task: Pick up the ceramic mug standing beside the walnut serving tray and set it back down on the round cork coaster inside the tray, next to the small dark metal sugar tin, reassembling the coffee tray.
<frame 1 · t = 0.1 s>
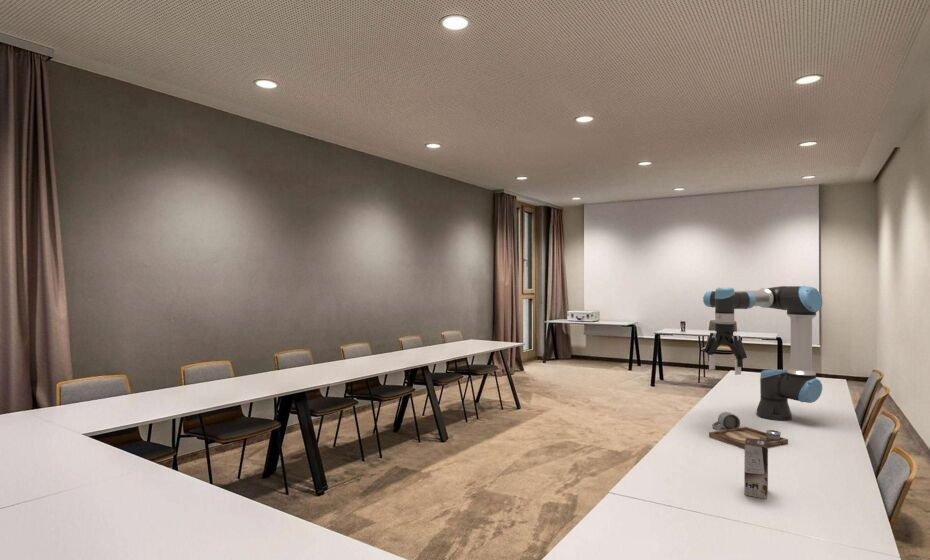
hand: (724, 371, 228), 28 cm above the table, fingers open, 13 cm apart
sugar tin: (773, 442, 218), resting on tray
ceramic mug: (725, 429, 238), on the table
tray: (747, 440, 221), on the table
coffee box: (756, 492, 168), on the table
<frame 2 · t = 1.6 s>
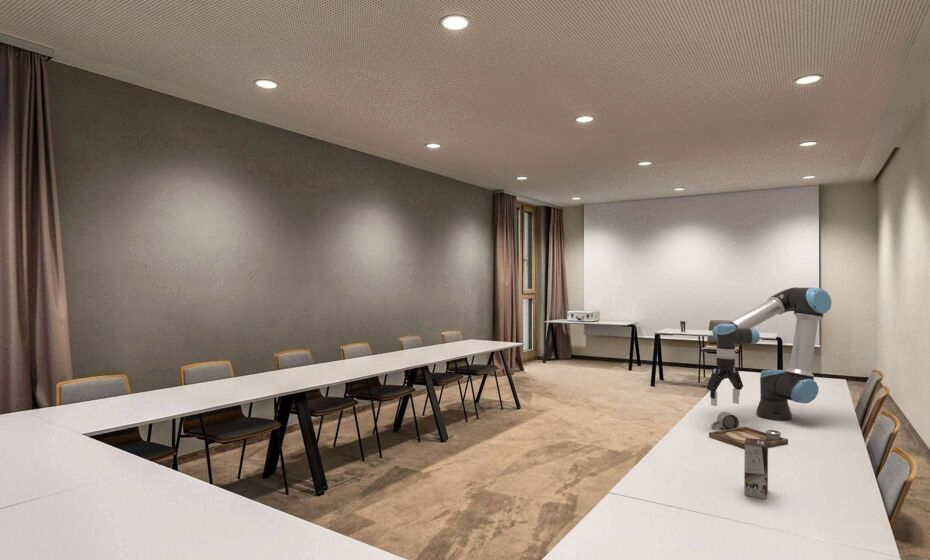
hand: (724, 404, 238), 11 cm above the table, fingers open, 13 cm apart
nothing on the table moved.
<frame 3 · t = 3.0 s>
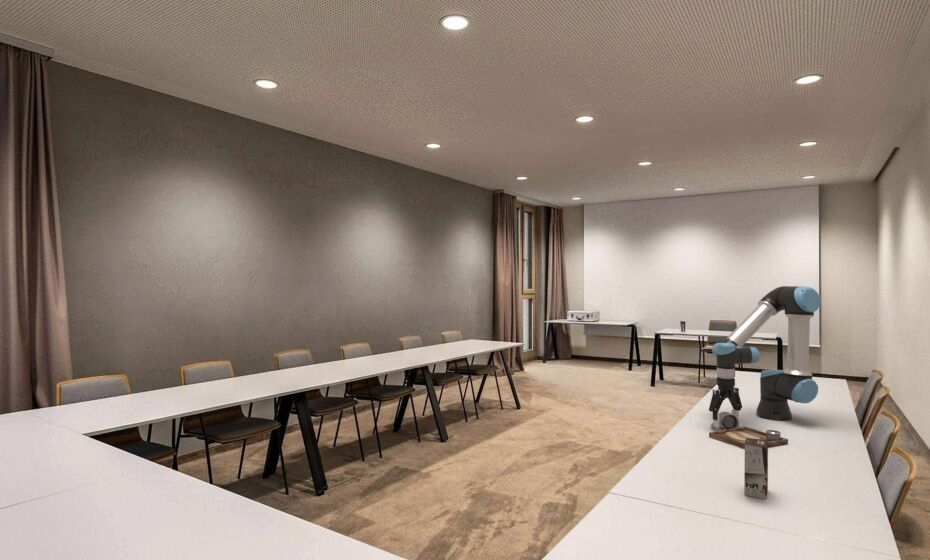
hand: (725, 425, 238), 2 cm above the table, fingers closed on ceramic mug, 11 cm apart
ceramic mug: (724, 429, 239), on the table, touching gripper
everything else where it was.
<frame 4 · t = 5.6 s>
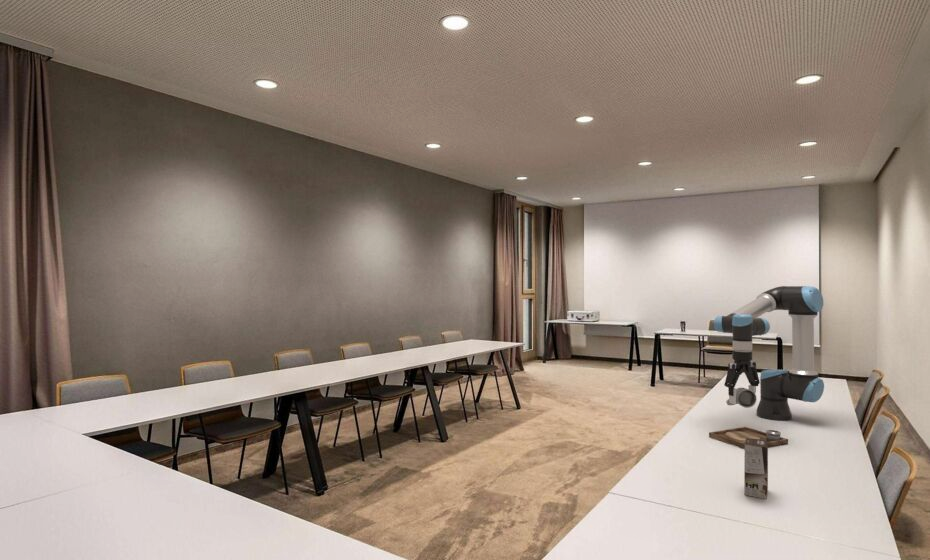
hand: (742, 402, 224), 16 cm above the table, fingers closed on ceramic mug, 11 cm apart
ceramic mug: (740, 406, 224), point 14 cm above the table, touching gripper
everything else where it was.
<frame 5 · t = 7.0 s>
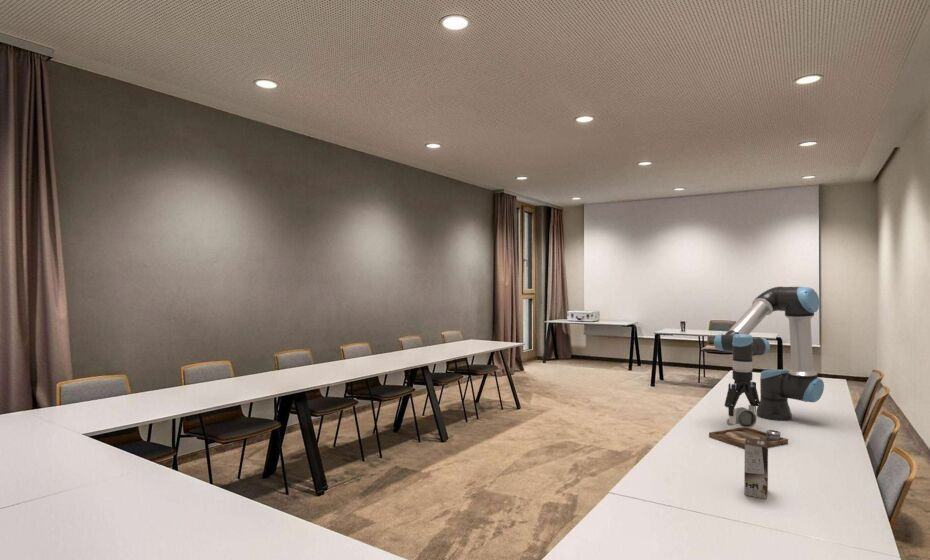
hand: (742, 422, 224), 7 cm above the table, fingers closed on ceramic mug, 11 cm apart
ceramic mug: (740, 426, 224), point 5 cm above the table, touching gripper
everything else where it was.
when the fingers open (4 cm above the table, at t = 8.3 s): ceramic mug drops 1 cm, resting on tray.
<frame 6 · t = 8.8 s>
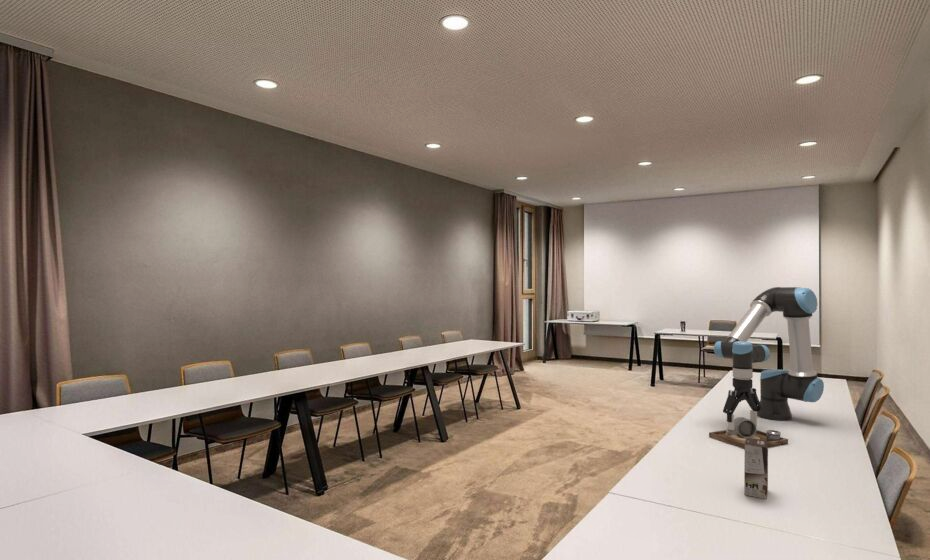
hand: (742, 427, 224), 5 cm above the table, fingers open, 13 cm apart
ceramic mug: (740, 436, 224), point 1 cm above the table, touching tray
everything else where it was.
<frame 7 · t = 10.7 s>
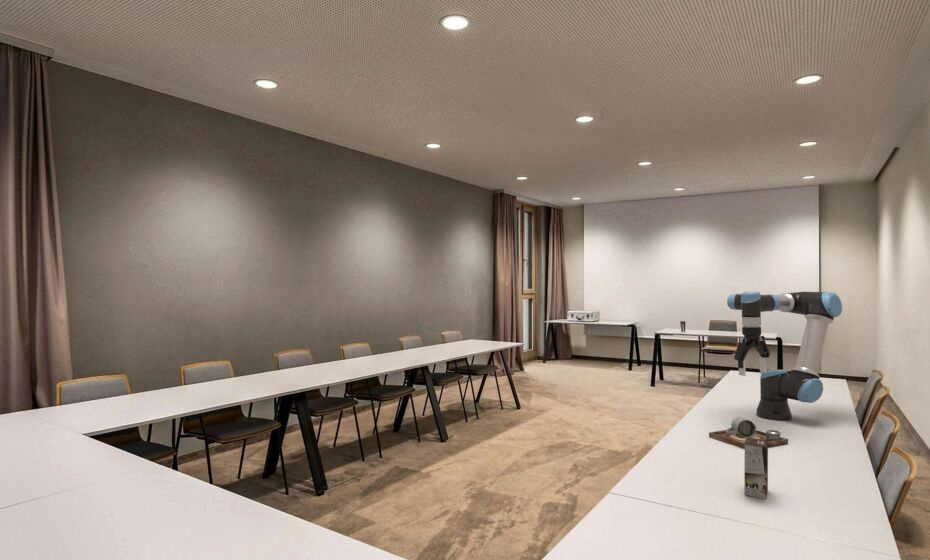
hand: (752, 373, 234), 26 cm above the table, fingers open, 13 cm apart
nothing on the table moved.
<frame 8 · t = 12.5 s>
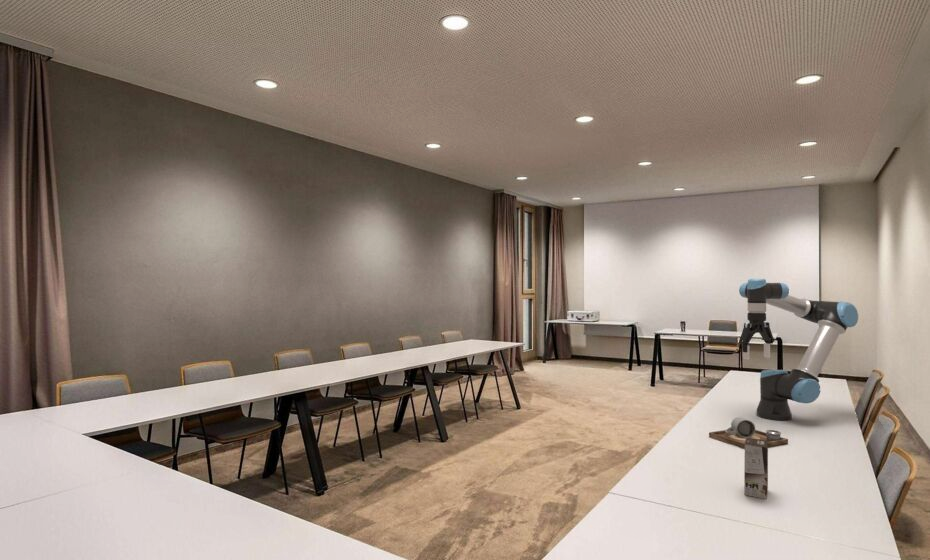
hand: (756, 358, 241), 32 cm above the table, fingers open, 13 cm apart
nothing on the table moved.
at the end: ceramic mug inside the target area on the tray (1.1 cm from its centre), point 1.1 cm above the tray's base; ceramic mug tilted 0°; the gripper is holding nothing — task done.
